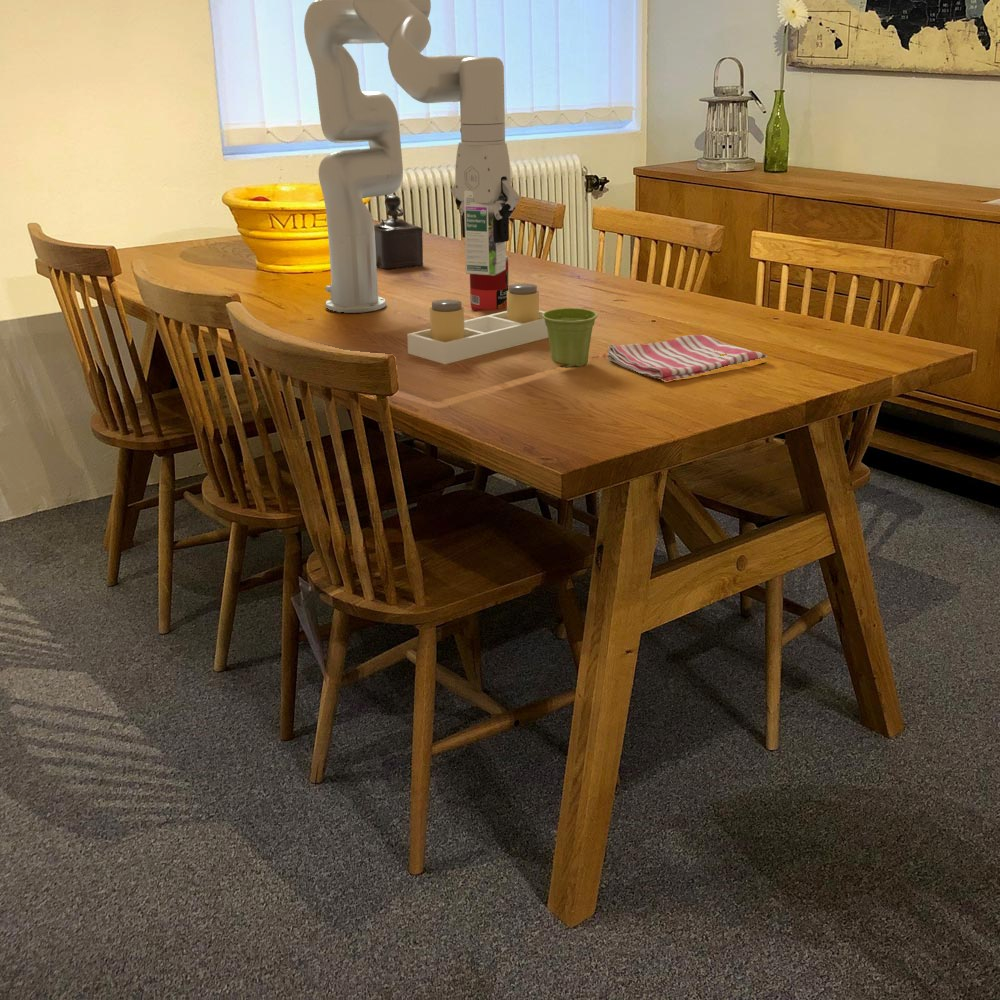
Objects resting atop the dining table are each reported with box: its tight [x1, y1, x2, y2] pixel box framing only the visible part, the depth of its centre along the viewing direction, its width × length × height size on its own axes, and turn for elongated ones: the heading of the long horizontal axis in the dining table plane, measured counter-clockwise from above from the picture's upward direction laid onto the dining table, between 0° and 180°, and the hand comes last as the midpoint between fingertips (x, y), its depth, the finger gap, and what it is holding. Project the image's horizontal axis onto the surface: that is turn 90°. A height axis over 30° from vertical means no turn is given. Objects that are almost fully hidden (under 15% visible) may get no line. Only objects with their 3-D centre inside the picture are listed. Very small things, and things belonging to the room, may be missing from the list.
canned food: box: [469, 254, 509, 313], centre depth 236 cm, size 8×8×11 cm
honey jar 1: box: [429, 299, 465, 342], centre depth 202 cm, size 6×6×9 cm
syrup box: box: [464, 190, 507, 276], centre depth 202 cm, size 6×6×14 cm
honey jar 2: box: [506, 282, 540, 323], centre depth 214 cm, size 6×6×9 cm
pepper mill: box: [374, 194, 424, 270], centre depth 279 cm, size 16×11×18 cm
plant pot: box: [542, 307, 598, 368], centre depth 198 cm, size 9×9×9 cm
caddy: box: [406, 310, 549, 365], centre depth 209 cm, size 10×29×4 cm, turn 133°
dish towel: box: [607, 334, 768, 381], centre depth 199 cm, size 17×23×4 cm
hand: (485, 238), depth 202 cm, fingers closed on syrup box, 7 cm apart
